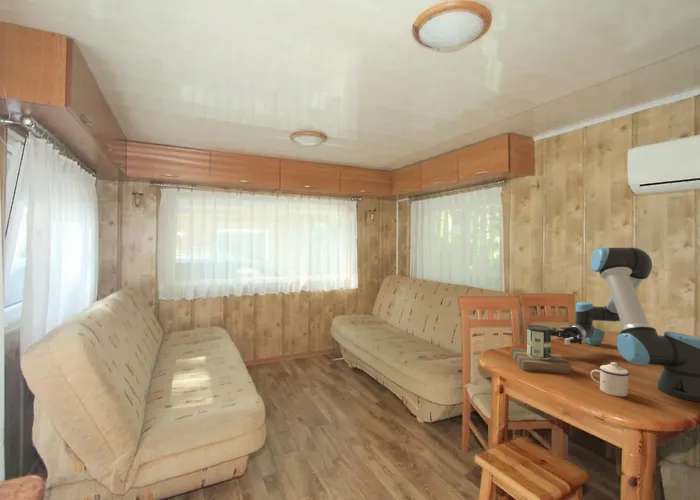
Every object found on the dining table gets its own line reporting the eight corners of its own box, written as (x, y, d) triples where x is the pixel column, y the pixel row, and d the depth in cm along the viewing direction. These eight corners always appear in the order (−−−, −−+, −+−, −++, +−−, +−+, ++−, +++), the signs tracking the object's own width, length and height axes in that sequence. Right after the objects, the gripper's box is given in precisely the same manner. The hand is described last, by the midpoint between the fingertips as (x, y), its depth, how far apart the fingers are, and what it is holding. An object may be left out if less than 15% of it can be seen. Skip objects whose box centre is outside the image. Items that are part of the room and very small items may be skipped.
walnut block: (570, 373, 147) (570, 365, 147) (522, 370, 151) (522, 361, 151) (552, 358, 167) (552, 351, 167) (510, 355, 171) (510, 348, 171)
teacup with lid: (629, 392, 129) (630, 362, 129) (627, 399, 123) (628, 368, 123) (592, 383, 138) (592, 355, 138) (588, 389, 131) (589, 360, 131)
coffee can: (545, 353, 163) (546, 325, 163) (554, 360, 153) (555, 330, 153) (523, 352, 165) (524, 324, 165) (530, 358, 155) (531, 329, 155)
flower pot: (605, 346, 189) (605, 331, 189) (589, 346, 189) (590, 330, 189) (594, 342, 198) (594, 327, 198) (579, 341, 198) (579, 327, 198)
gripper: (600, 346, 163) (578, 353, 153) (550, 334, 185) (527, 339, 175) (601, 331, 163) (578, 337, 153) (550, 321, 185) (527, 325, 175)
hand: (551, 338), depth 164 cm, fingers open, 13 cm apart
